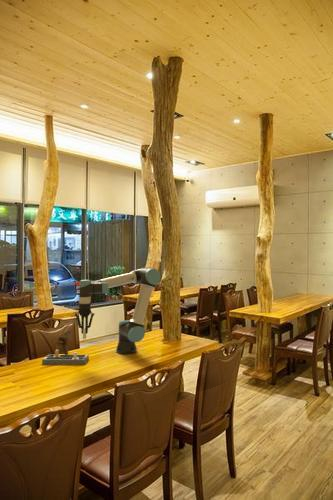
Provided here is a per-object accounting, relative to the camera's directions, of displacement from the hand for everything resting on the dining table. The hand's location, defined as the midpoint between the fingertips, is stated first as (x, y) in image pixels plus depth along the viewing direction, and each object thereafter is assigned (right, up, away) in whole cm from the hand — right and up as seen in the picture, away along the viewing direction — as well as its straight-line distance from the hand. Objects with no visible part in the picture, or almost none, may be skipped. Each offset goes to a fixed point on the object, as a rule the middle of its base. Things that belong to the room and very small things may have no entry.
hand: (84, 338), depth 238 cm
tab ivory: (-6, -15, 0) cm, 16 cm away
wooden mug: (-20, -17, +20) cm, 33 cm away
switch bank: (-13, -16, +2) cm, 21 cm away
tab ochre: (-20, -15, +5) cm, 25 cm away
